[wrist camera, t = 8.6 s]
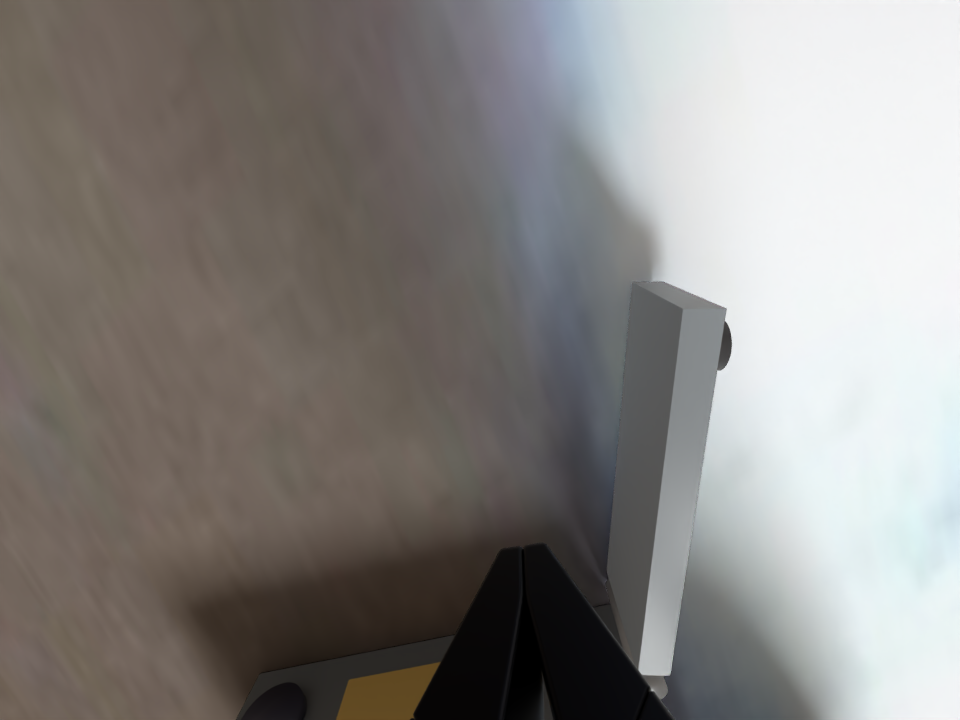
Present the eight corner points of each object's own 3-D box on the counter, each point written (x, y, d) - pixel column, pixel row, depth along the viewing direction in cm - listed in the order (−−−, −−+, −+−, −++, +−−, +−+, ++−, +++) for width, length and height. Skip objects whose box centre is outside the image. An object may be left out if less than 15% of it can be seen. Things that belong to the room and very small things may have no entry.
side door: (653, 595, 22) (697, 703, 18) (604, 594, 23) (634, 701, 18) (694, 281, 18) (770, 308, 13) (631, 281, 18) (682, 308, 13)
